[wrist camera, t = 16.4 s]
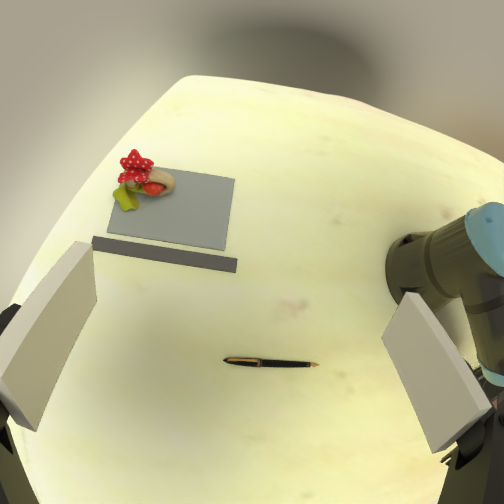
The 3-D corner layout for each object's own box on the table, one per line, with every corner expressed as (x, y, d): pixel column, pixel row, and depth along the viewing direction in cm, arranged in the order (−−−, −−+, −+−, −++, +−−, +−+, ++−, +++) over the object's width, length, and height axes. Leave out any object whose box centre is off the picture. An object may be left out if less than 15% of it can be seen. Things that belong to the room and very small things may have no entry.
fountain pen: (318, 360, 43) (322, 361, 42) (318, 368, 43) (322, 369, 42) (222, 355, 41) (223, 356, 40) (221, 364, 41) (222, 364, 39)
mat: (246, 182, 49) (247, 180, 49) (235, 272, 45) (235, 272, 44) (116, 163, 46) (115, 161, 45) (91, 249, 41) (90, 248, 41)
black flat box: (462, 446, 43) (474, 449, 39) (462, 376, 48) (475, 376, 44) (501, 416, 47) (512, 417, 43) (500, 353, 51) (512, 352, 47)
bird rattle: (162, 181, 48) (109, 174, 43) (190, 145, 40) (126, 132, 34) (162, 216, 47) (106, 210, 42) (190, 185, 38) (121, 174, 33)
